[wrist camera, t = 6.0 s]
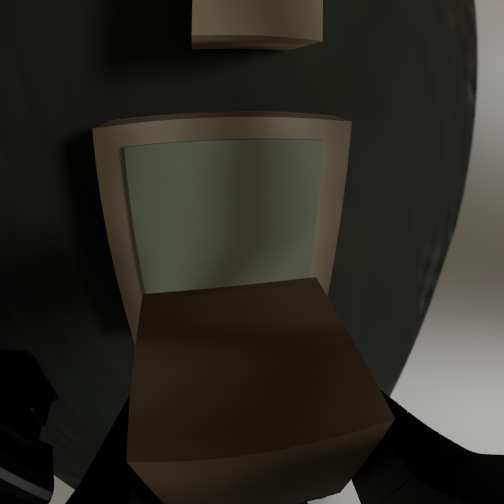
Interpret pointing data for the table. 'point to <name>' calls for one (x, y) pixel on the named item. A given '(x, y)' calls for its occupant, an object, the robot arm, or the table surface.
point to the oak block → (256, 24)
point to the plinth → (220, 199)
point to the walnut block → (249, 396)
